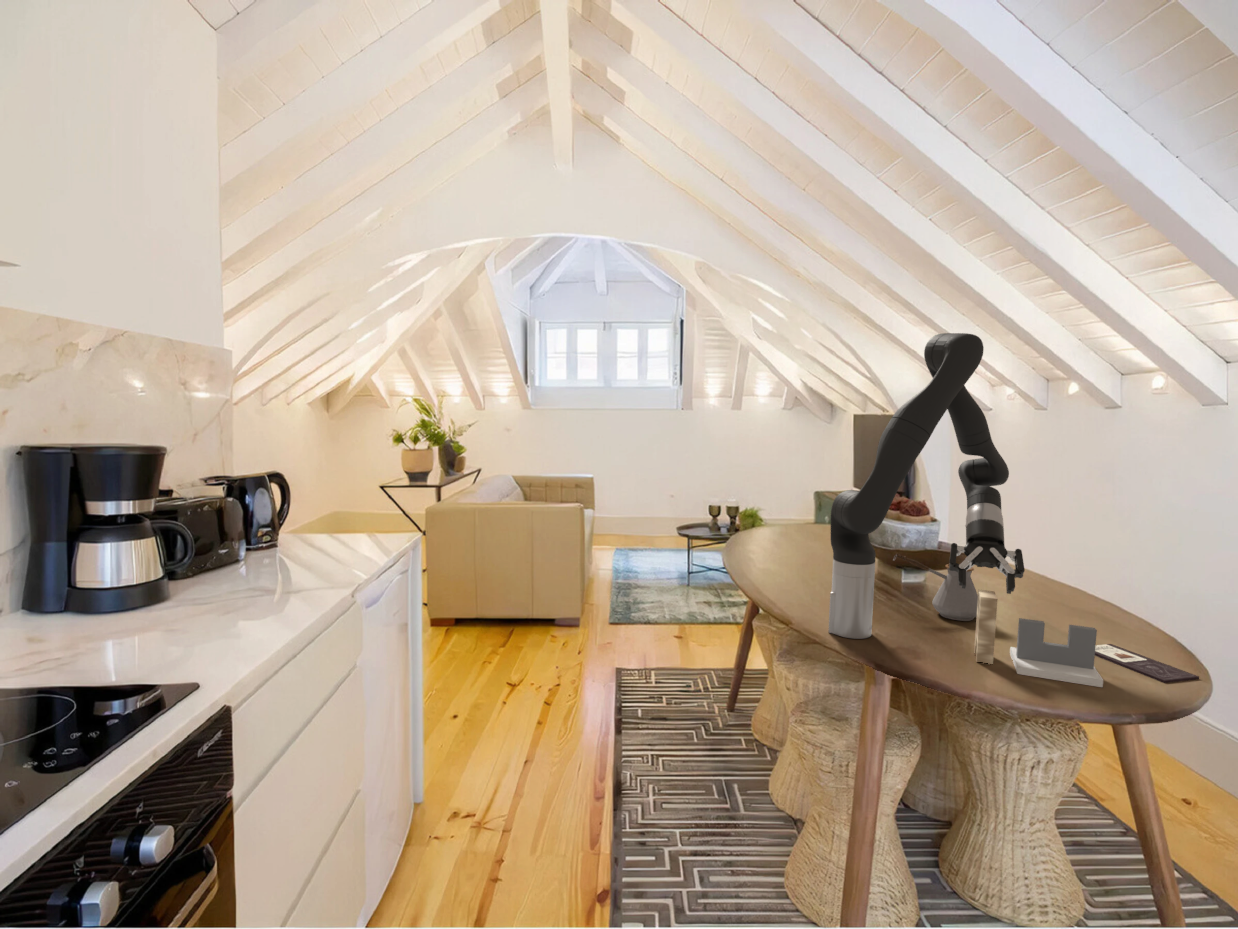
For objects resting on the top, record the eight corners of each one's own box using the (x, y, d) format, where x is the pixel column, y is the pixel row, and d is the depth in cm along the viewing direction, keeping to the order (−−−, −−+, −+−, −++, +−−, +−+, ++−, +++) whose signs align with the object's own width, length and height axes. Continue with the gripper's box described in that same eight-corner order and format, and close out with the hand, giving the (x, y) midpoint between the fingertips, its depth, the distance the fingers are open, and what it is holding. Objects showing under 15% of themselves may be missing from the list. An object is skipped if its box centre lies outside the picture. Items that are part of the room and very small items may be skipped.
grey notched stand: (1017, 673, 130) (1020, 627, 129) (1009, 653, 141) (1012, 610, 140) (1102, 687, 124) (1106, 639, 123) (1087, 665, 135) (1091, 620, 134)
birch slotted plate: (976, 662, 135) (980, 596, 134) (974, 652, 141) (978, 589, 139) (992, 665, 134) (997, 598, 133) (990, 655, 140) (994, 591, 138)
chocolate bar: (1164, 680, 126) (1078, 646, 144) (1163, 685, 126) (1078, 651, 144) (1199, 676, 129) (1110, 643, 146) (1198, 681, 129) (1110, 648, 146)
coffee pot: (977, 612, 169) (980, 555, 168) (986, 626, 158) (990, 565, 157) (888, 603, 176) (891, 548, 174) (892, 615, 165) (895, 558, 164)
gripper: (950, 515, 149) (950, 576, 139) (1023, 520, 143) (1028, 584, 133) (948, 534, 154) (947, 593, 145) (1018, 540, 148) (1022, 602, 139)
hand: (986, 589), depth 139 cm, fingers open, 8 cm apart
